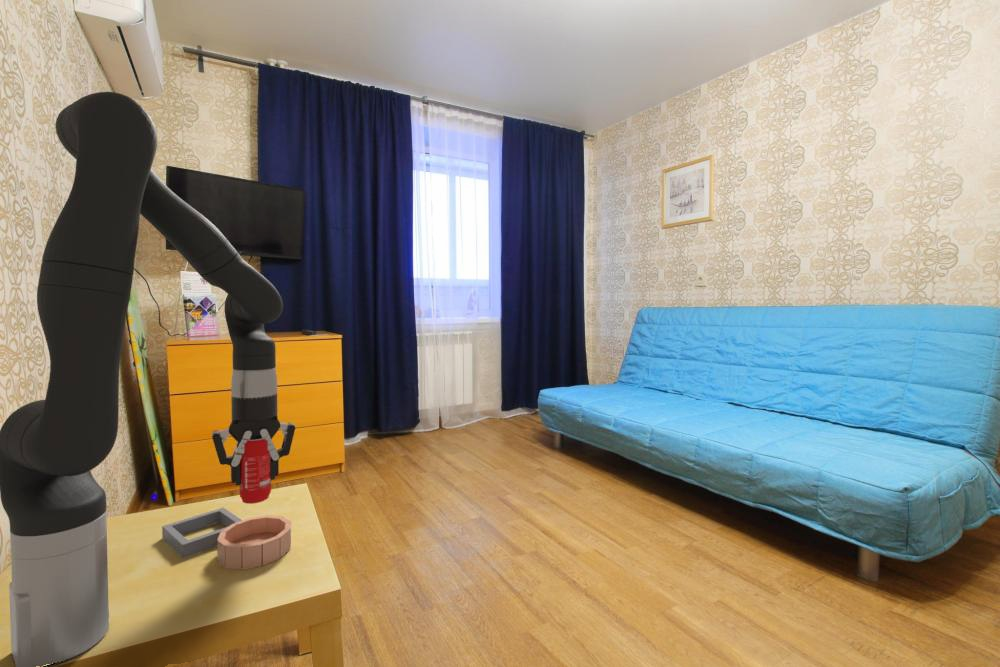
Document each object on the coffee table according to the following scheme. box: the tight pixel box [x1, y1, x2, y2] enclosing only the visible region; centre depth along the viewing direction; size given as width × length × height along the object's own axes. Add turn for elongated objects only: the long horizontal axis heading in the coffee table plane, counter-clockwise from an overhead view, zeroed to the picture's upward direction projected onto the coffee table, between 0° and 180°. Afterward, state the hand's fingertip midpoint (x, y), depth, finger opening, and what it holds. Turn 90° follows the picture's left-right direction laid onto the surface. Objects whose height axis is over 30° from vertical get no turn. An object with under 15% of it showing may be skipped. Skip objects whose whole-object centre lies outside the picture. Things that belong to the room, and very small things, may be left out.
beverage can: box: [239, 438, 272, 505], centre depth 84 cm, size 5×5×12 cm
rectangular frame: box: [161, 507, 242, 559], centre depth 89 cm, size 11×11×2 cm
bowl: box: [216, 514, 292, 570], centre depth 85 cm, size 12×12×4 cm
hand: (255, 480), depth 84 cm, fingers closed on beverage can, 5 cm apart
